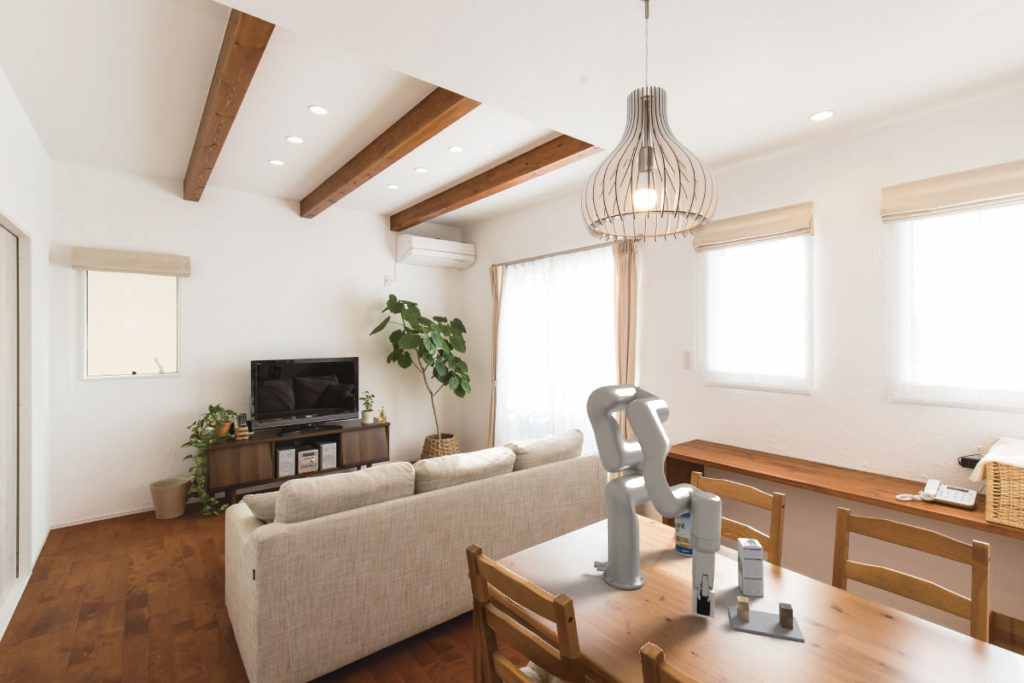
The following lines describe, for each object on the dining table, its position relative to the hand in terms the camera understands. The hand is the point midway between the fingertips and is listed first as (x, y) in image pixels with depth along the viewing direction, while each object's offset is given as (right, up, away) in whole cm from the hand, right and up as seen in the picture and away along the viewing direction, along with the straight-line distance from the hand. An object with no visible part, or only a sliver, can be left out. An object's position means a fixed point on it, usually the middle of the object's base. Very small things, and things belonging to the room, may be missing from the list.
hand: (702, 607), depth 126 cm
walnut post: (+20, -3, -4) cm, 20 cm away
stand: (+15, -3, -3) cm, 15 cm away
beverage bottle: (+11, -3, +40) cm, 42 cm away
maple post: (+10, -3, -1) cm, 11 cm away
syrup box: (+20, -3, +14) cm, 24 cm away
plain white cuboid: (0, -1, 0) cm, 1 cm away
